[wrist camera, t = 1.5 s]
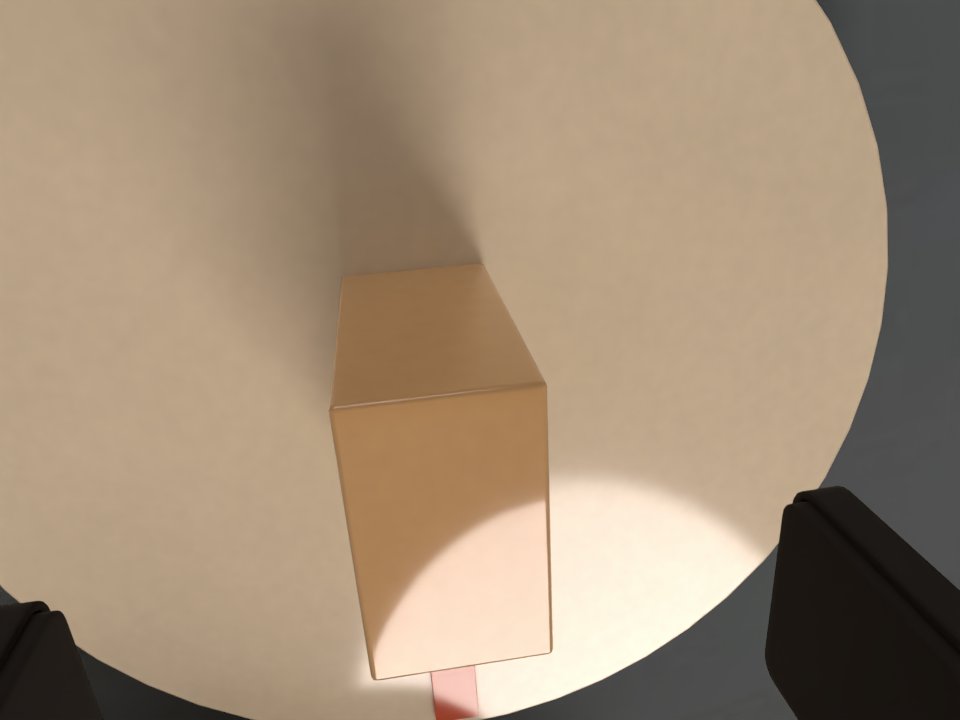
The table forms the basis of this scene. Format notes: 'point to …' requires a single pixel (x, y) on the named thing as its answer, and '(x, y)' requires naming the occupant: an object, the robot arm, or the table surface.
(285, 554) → the plate
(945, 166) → the table surface
